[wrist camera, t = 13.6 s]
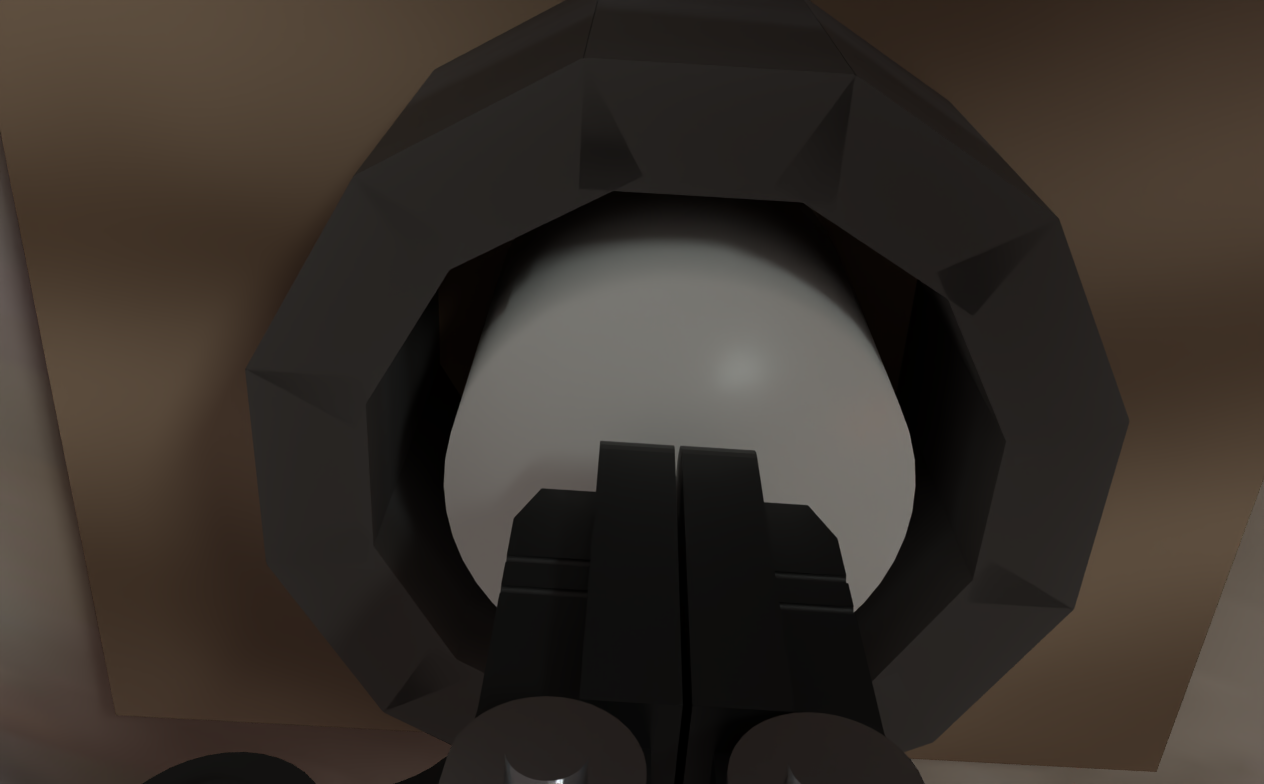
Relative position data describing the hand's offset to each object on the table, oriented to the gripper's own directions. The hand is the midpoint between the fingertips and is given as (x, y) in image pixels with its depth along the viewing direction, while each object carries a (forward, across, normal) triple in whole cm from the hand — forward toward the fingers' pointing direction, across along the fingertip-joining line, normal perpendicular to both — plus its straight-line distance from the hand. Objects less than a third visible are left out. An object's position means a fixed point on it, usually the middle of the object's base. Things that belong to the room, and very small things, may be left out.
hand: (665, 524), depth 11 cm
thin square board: (+7, 0, 0) cm, 7 cm away
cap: (+6, 0, 0) cm, 6 cm away
